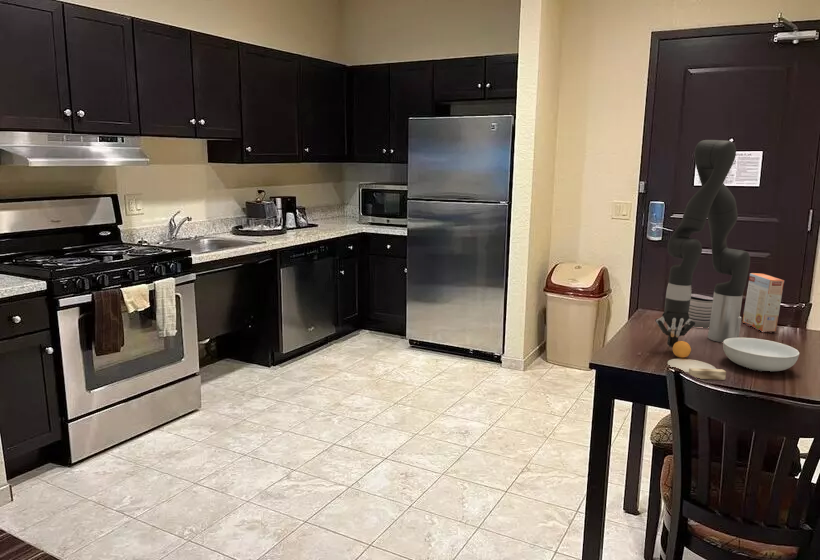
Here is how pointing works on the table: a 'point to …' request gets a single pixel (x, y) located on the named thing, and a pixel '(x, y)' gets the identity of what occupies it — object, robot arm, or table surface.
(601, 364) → the table surface
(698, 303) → the can
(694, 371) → the stopper strip
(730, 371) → the table surface
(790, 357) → the serving bowl
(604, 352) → the table surface
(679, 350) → the ball
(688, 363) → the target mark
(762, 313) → the cracker box
